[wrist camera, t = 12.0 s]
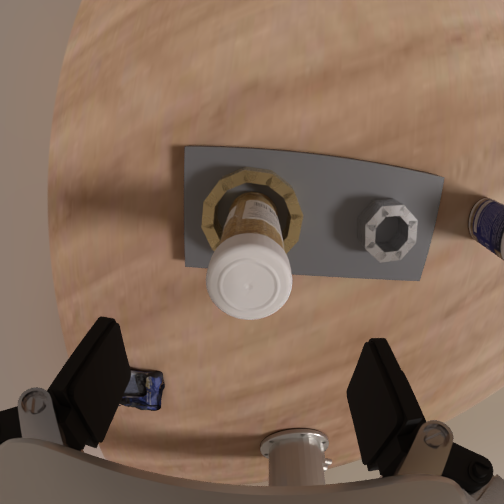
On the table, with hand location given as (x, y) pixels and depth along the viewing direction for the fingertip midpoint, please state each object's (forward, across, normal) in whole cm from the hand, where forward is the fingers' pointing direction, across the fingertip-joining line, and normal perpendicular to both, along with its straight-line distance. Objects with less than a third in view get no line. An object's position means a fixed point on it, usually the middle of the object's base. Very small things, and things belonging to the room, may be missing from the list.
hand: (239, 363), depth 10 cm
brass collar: (+19, 0, -1) cm, 19 cm away
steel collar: (+19, -13, 0) cm, 23 cm away
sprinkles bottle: (+19, 0, 0) cm, 19 cm away
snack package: (+21, +17, +27) cm, 38 cm away
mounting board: (+20, -6, 0) cm, 21 cm away
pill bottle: (+20, -28, -3) cm, 35 cm away
